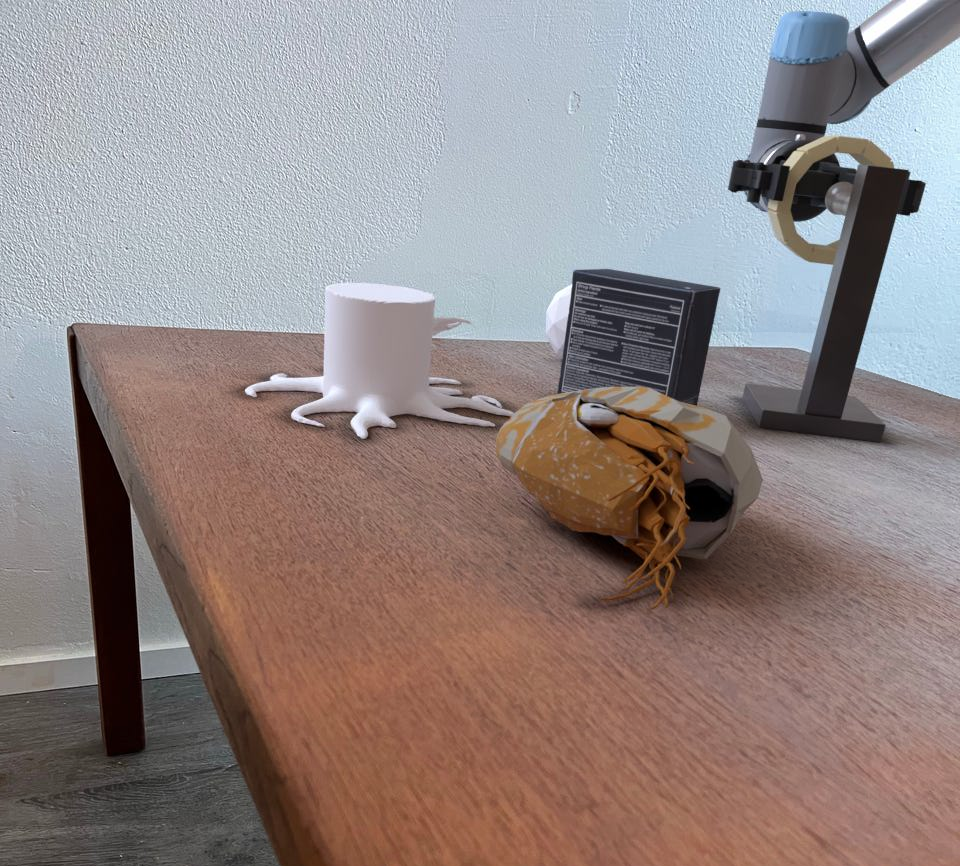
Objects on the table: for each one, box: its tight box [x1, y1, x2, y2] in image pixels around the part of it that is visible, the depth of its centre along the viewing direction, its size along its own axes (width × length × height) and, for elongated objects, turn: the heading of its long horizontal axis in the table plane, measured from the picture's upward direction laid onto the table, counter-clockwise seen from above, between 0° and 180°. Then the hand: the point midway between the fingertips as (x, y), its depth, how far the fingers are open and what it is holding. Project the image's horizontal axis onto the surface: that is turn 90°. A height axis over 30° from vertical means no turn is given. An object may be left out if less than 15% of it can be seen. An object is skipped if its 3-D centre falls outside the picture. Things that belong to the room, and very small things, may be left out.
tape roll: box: [767, 135, 895, 266], centre depth 87 cm, size 10×5×10 cm, turn 84°
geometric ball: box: [544, 283, 572, 358], centre depth 96 cm, size 8×8×8 cm
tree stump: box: [244, 282, 515, 440], centre depth 75 cm, size 20×19×8 cm
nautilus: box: [494, 387, 764, 611], centre depth 53 cm, size 8×22×15 cm
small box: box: [556, 268, 722, 406], centre depth 80 cm, size 11×6×10 cm, turn 58°
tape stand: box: [741, 163, 910, 443], centre depth 83 cm, size 10×14×20 cm
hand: (845, 190), depth 83 cm, fingers closed on tape roll, 10 cm apart
